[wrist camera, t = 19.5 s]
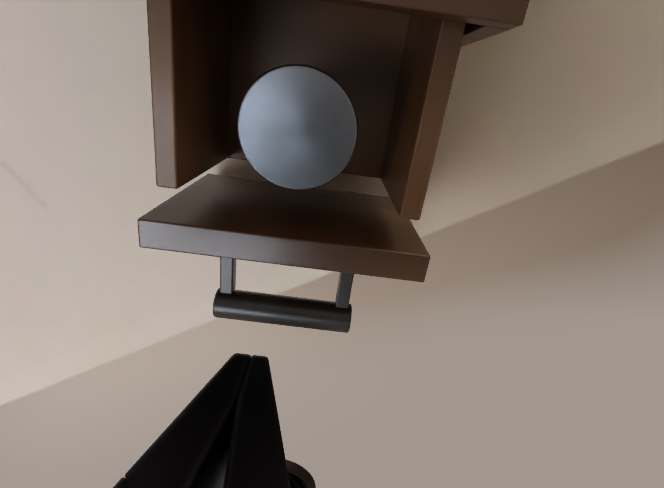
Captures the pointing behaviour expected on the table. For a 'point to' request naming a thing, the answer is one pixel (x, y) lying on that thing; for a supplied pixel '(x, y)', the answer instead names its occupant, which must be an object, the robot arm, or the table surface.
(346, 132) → the cylinder
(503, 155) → the table surface
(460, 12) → the cabinet
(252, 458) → the robot arm
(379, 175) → the drawer
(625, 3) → the table surface
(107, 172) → the table surface
